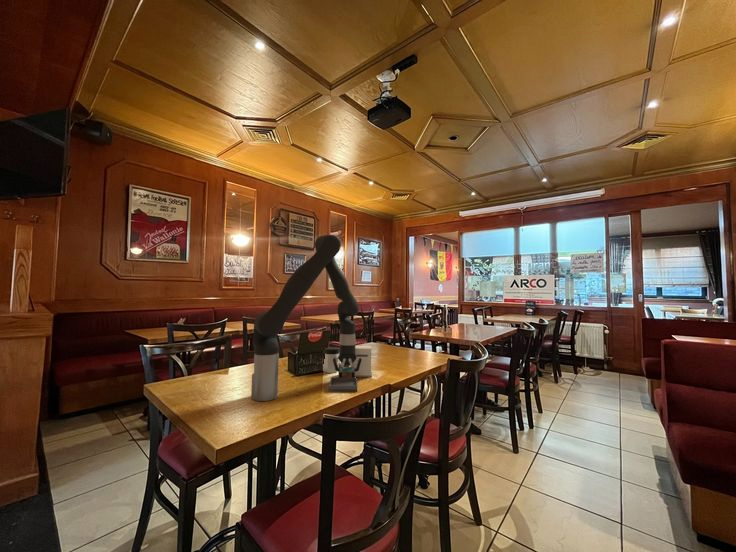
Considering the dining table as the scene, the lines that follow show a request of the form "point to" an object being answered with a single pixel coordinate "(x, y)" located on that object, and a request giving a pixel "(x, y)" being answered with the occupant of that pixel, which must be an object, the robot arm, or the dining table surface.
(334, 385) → the tray
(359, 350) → the dispenser
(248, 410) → the dining table surface
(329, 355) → the jar
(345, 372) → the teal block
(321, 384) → the dining table surface
